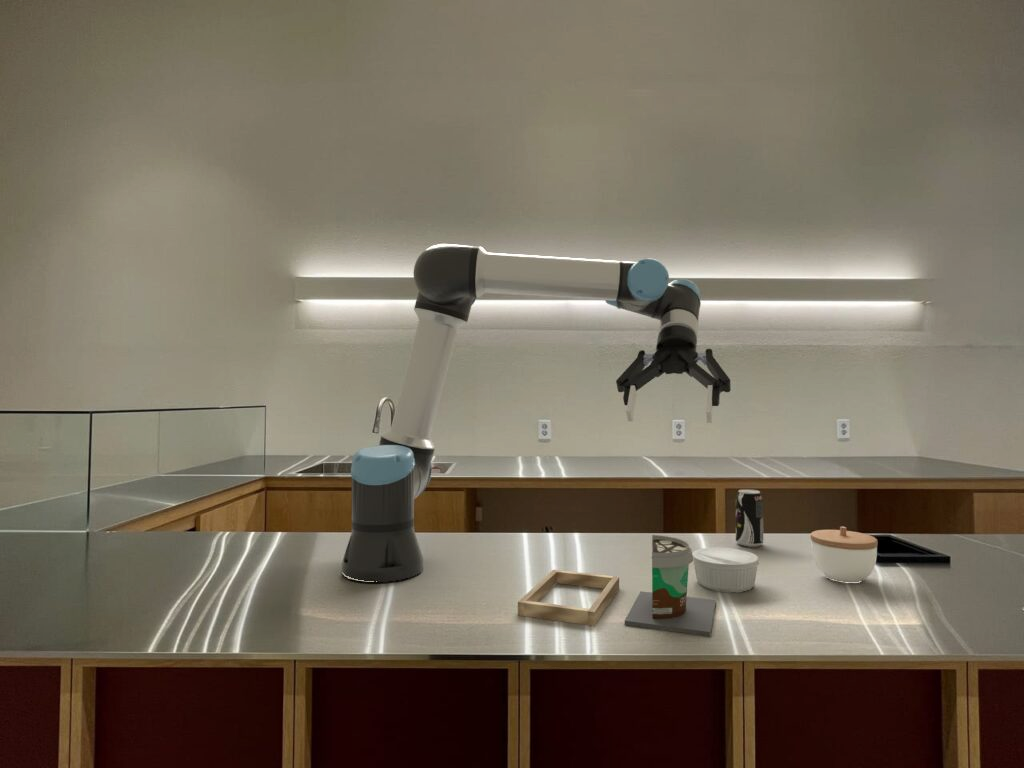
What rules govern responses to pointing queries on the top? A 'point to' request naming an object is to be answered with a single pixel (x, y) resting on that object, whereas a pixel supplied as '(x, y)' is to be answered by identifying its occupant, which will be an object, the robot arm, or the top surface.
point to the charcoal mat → (691, 622)
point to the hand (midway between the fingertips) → (668, 417)
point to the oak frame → (567, 613)
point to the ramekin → (725, 569)
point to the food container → (669, 576)
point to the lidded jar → (844, 554)
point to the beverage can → (749, 518)
